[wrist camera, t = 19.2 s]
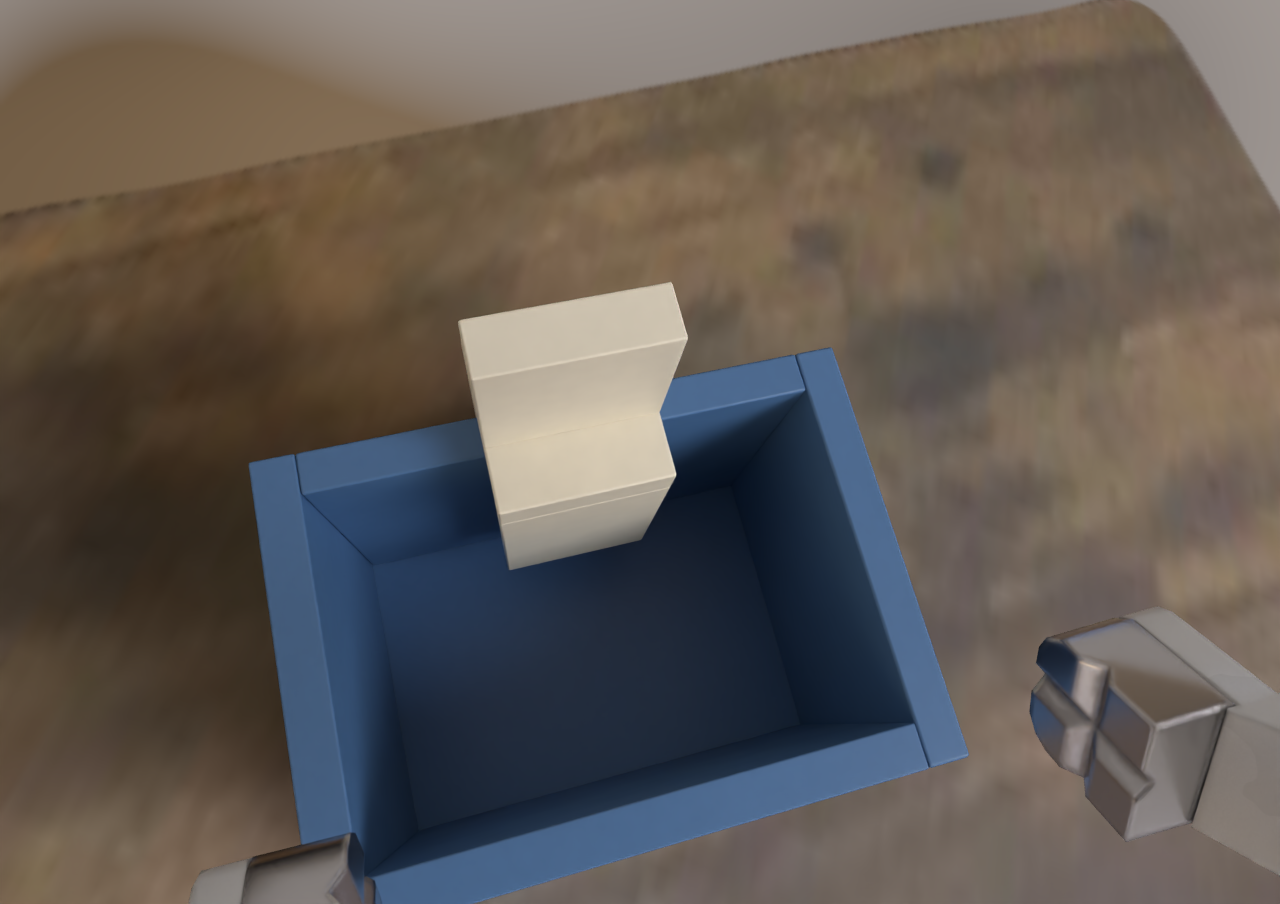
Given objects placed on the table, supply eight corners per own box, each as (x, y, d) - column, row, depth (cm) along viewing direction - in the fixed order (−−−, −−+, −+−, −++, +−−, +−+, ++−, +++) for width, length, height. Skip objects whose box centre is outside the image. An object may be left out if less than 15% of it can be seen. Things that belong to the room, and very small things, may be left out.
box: (393, 873, 26) (315, 950, 17) (340, 546, 29) (247, 462, 20) (832, 747, 28) (971, 756, 19) (746, 457, 31) (832, 345, 22)
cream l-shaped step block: (508, 571, 25) (487, 460, 15) (479, 435, 27) (440, 245, 16) (642, 540, 26) (711, 414, 16) (608, 409, 27) (652, 211, 17)
